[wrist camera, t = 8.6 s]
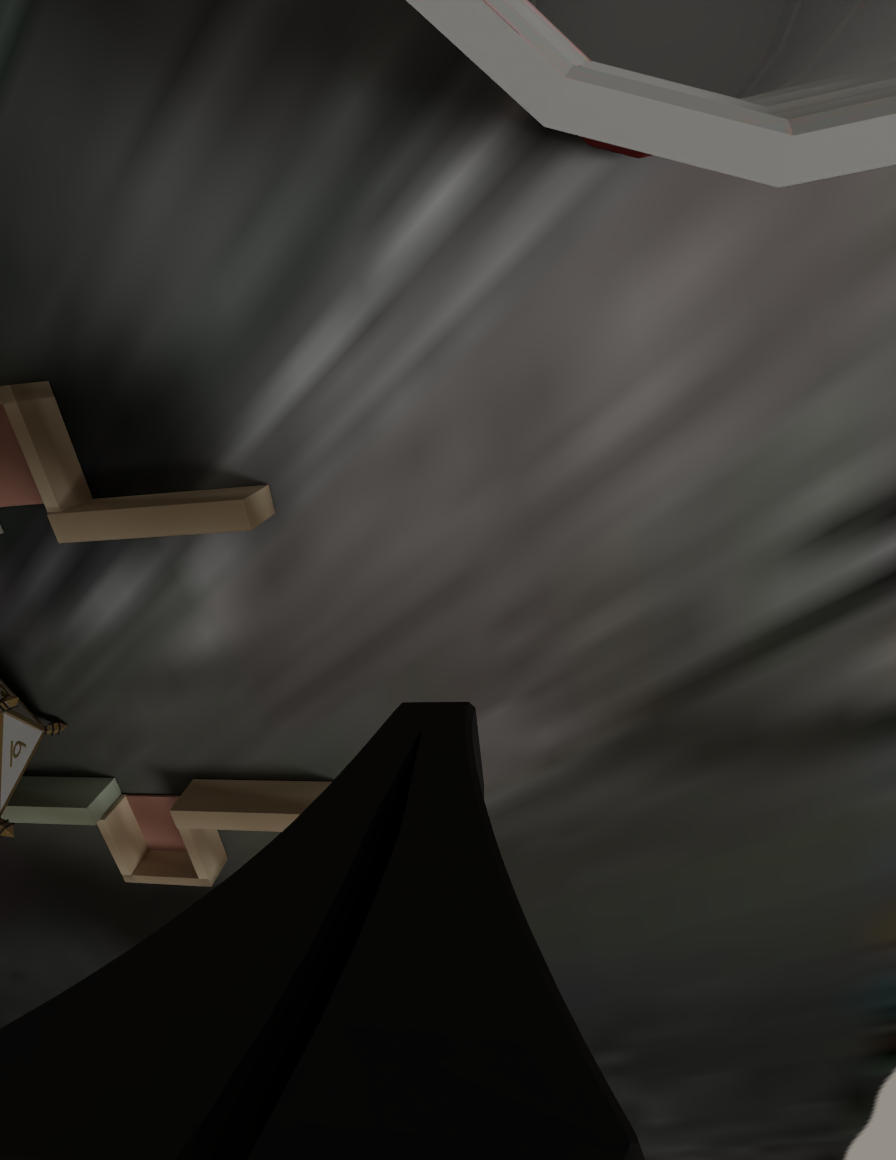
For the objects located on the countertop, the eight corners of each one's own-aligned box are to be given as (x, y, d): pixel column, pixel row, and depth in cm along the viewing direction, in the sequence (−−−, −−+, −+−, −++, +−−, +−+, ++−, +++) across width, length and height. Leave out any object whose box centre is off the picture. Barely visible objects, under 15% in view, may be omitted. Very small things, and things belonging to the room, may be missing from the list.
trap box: (361, 864, 26) (341, 927, 23) (-35, 847, 30) (-93, 899, 27) (237, 357, 17) (181, 362, 14) (-302, 424, 21) (-426, 438, 18)
